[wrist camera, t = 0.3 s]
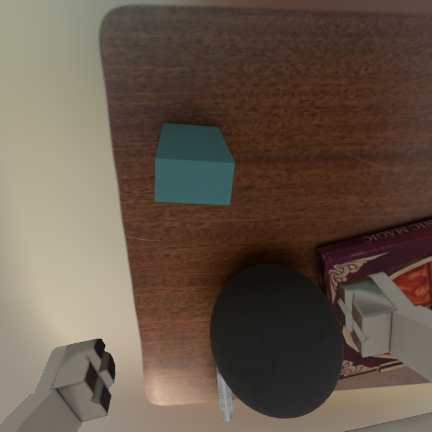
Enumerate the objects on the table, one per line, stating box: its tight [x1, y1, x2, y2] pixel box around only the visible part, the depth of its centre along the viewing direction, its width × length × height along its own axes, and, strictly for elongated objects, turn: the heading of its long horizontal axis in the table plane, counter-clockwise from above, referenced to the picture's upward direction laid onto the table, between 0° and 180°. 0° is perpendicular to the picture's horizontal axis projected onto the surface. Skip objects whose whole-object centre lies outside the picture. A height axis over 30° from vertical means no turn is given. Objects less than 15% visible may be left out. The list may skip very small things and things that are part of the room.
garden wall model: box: [216, 365, 235, 422], centre depth 41 cm, size 12×2×6 cm, turn 5°
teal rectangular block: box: [155, 123, 235, 205], centre depth 25 cm, size 3×5×10 cm, turn 85°
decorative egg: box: [210, 264, 344, 418], centre depth 32 cm, size 12×12×15 cm
